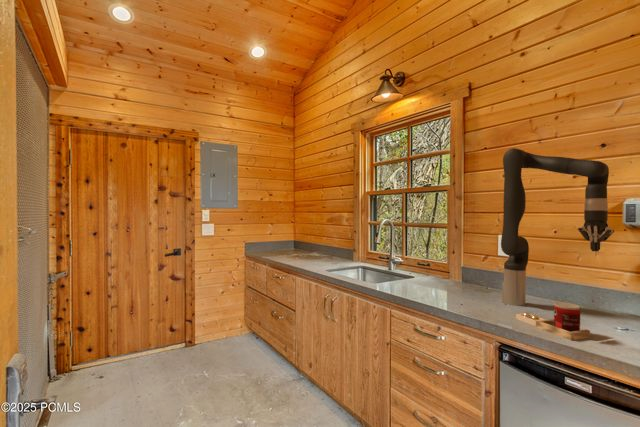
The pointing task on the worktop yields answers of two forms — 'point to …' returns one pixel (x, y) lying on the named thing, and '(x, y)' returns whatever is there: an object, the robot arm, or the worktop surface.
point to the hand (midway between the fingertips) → (595, 251)
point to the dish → (527, 319)
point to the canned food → (567, 316)
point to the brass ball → (535, 317)
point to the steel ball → (527, 315)
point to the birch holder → (561, 330)
